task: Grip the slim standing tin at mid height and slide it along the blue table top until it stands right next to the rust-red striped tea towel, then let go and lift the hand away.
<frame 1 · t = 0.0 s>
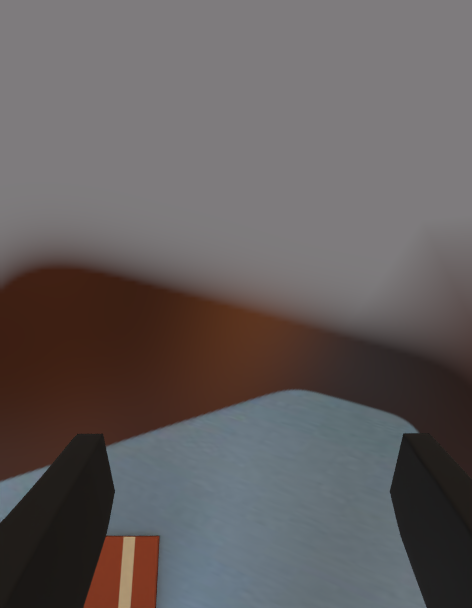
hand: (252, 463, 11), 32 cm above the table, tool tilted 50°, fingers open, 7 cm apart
towel: (69, 581, 38), on the table
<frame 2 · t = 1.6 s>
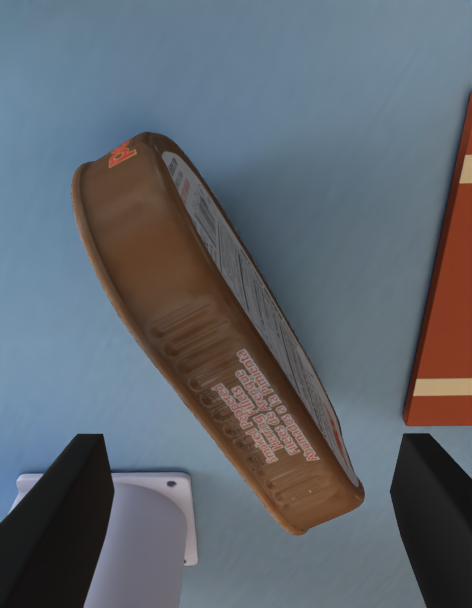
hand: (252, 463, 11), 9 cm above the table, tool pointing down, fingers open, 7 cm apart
tin: (242, 286, 20), on the table
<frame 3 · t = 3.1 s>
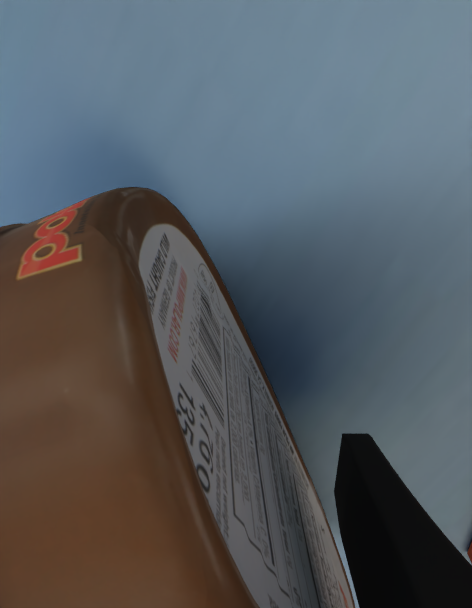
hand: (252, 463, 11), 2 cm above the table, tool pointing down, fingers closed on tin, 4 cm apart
tin: (241, 396, 13), on the table, touching gripper
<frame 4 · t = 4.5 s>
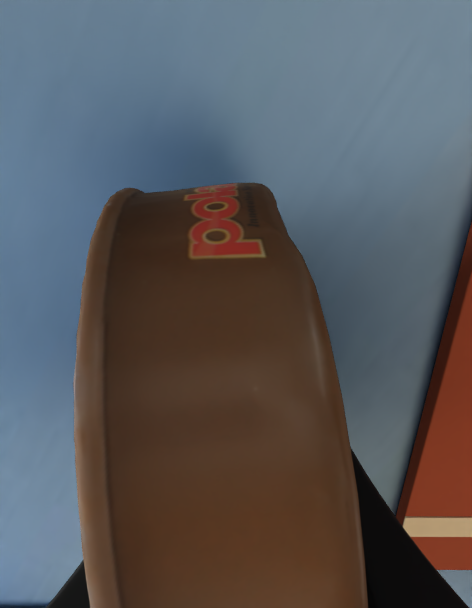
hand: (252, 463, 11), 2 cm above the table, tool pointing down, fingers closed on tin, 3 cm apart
tin: (248, 401, 13), on the table, touching gripper
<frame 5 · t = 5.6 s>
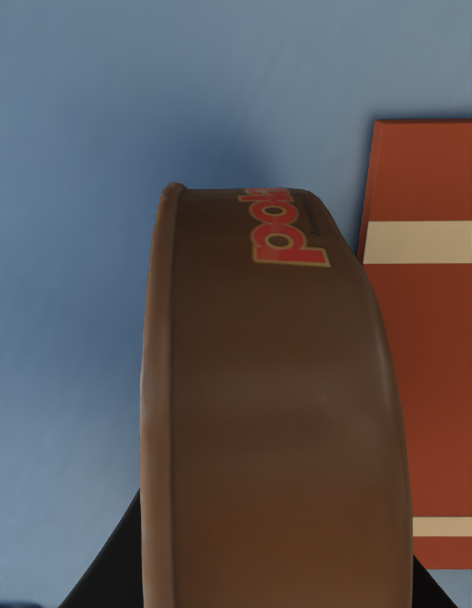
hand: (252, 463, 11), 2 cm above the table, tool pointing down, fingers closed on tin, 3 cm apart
tin: (250, 403, 13), on the table, touching gripper
towel: (459, 396, 13), on the table
when the fingers open (2 cm above the table, at t = 5.8 s): tin stays where it is, on the table.
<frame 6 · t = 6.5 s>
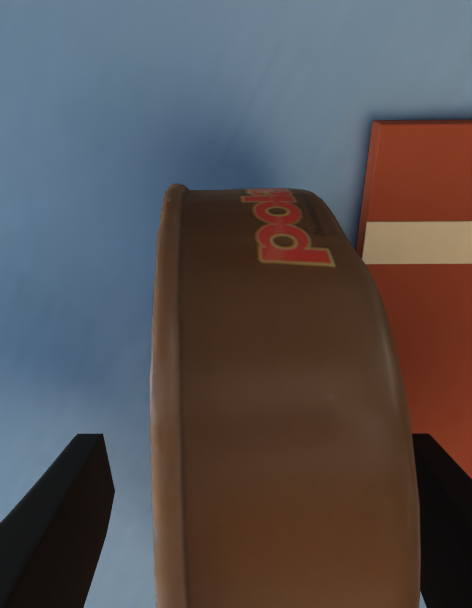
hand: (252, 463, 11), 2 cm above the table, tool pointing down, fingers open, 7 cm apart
tin: (249, 402, 13), on the table
towel: (458, 397, 13), on the table
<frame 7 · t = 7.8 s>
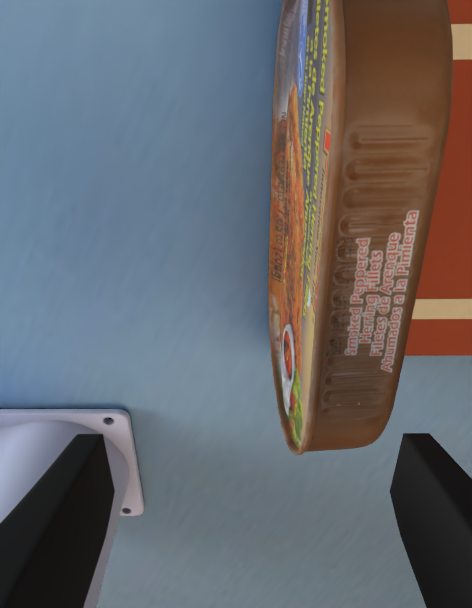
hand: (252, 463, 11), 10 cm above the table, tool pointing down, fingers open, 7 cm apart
tin: (309, 199, 18), on the table
towel: (464, 189, 18), on the table
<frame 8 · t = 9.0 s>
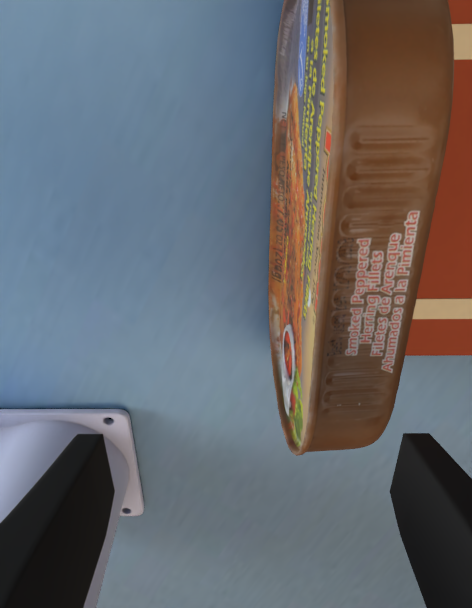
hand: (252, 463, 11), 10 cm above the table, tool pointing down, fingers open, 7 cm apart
tin: (309, 199, 18), on the table
towel: (464, 189, 18), on the table
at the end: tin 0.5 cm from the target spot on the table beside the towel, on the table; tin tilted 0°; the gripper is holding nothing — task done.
